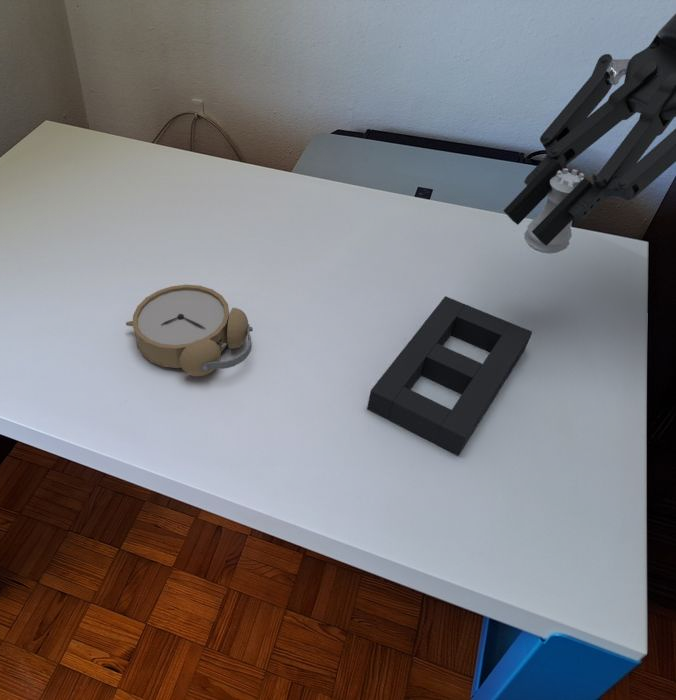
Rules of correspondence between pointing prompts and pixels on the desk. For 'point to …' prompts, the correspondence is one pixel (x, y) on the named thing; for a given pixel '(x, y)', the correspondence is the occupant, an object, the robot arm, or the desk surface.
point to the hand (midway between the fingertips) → (524, 227)
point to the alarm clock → (189, 329)
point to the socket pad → (449, 374)
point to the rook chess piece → (560, 189)
